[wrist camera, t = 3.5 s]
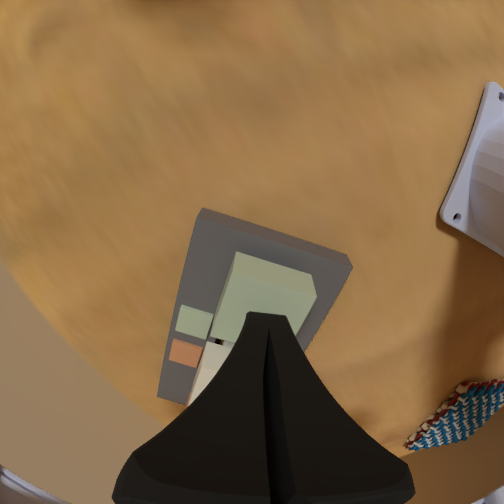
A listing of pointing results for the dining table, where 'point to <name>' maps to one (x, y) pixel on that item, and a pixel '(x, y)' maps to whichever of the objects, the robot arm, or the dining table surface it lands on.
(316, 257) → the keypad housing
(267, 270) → the key sage
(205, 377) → the cream cube block
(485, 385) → the woven mat
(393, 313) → the dining table surface
